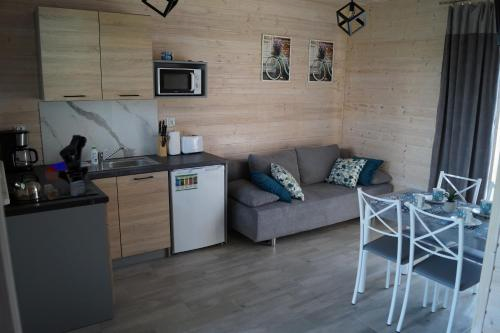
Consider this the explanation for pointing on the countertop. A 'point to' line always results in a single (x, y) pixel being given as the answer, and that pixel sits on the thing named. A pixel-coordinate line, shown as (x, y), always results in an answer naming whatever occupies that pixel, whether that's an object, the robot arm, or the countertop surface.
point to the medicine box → (77, 188)
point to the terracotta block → (47, 186)
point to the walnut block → (53, 194)
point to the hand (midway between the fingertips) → (76, 182)
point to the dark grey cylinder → (48, 189)
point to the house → (55, 171)
